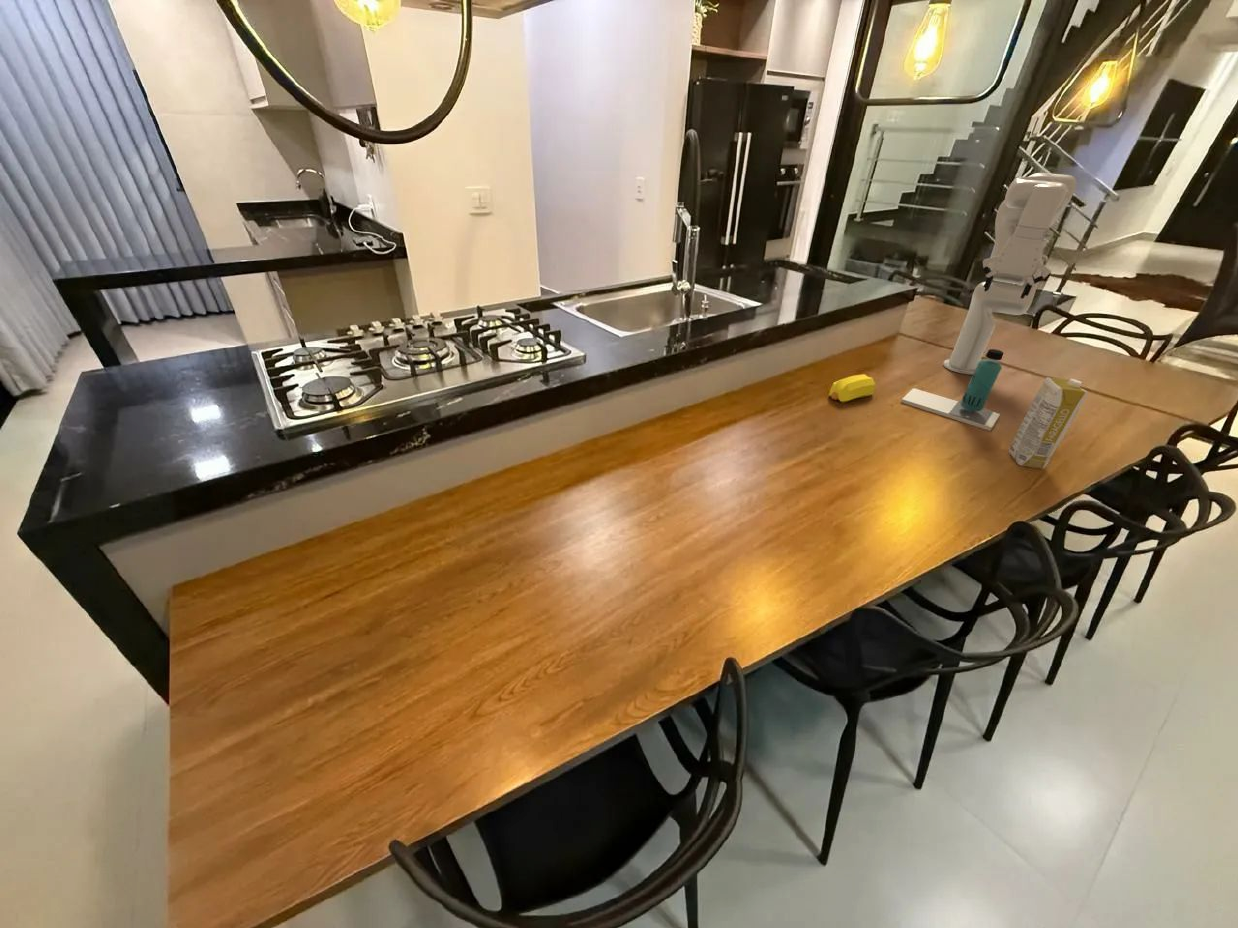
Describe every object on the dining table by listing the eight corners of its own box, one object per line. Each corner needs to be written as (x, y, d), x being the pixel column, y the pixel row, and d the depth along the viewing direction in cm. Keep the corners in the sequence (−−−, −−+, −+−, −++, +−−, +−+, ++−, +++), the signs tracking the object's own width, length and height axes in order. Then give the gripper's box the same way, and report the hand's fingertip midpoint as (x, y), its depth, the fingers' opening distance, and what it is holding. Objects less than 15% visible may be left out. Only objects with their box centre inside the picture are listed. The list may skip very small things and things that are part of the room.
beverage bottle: (975, 407, 171) (1002, 347, 160) (984, 417, 166) (1013, 355, 155) (954, 405, 172) (979, 345, 161) (962, 415, 166) (989, 353, 155)
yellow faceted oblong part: (822, 396, 177) (840, 406, 171) (827, 377, 173) (846, 387, 168) (859, 387, 185) (878, 396, 179) (865, 369, 181) (884, 377, 175)
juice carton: (1049, 471, 143) (1096, 389, 130) (1016, 467, 145) (1060, 385, 131) (1033, 453, 151) (1077, 374, 138) (1003, 449, 152) (1043, 370, 139)
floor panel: (912, 391, 183) (913, 387, 182) (998, 417, 169) (1000, 413, 168) (900, 402, 175) (902, 398, 174) (990, 430, 161) (992, 426, 161)
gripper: (1068, 236, 151) (1039, 298, 160) (998, 227, 160) (975, 285, 169) (1064, 240, 146) (1035, 303, 155) (993, 230, 155) (969, 290, 165)
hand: (1004, 294), depth 162 cm, fingers open, 9 cm apart
